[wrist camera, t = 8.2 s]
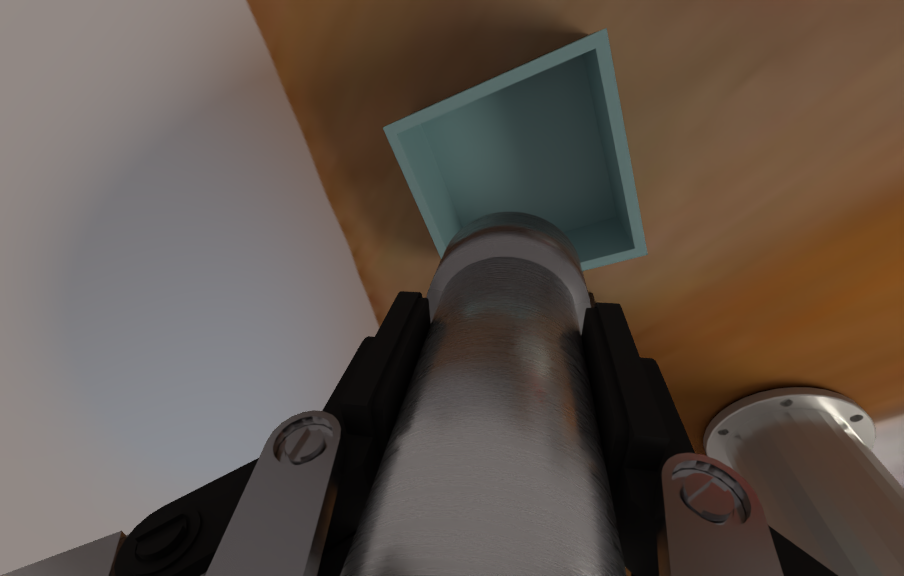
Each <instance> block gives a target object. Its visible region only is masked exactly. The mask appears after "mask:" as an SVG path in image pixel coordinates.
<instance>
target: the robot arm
mask: <svg viewBox="0 0 904 576" xmlns="http://www.w3.org/2000/svg"><path fill="white" fill-rule="evenodd" d="M430 325H431V321H430V309H429V300H428V298H422V294H421V293H420V292H403V291H401V292H399V293H398V295H397V297H396V299H395V301H394V302H393V304H392V306H391V308H390V310H389V312H388V314H387V315H386V317H385V319H384V321H383V323H382V325H381V326H380V328H379V330H378V332H377V334H376V336H375V337H369V336H368V337H366V338H365V339H364V340H363V342H362V343H361V345H360V347H359V348H358V350H357V352H356V354H355V355H354V357H353V359H352V360H351V362H350V364H349V366H348V368H347V369H346V371H345V373H344V374H343V376H342V378H341V380H340V381H339V383H338V385H337V386H336V388H335V390H334V392H333V393H332V395H331V397H330V399H329V400H328V402H327V404H326V406H325V407H324V409H323V411H308V412H302V413H300V414H297V415H295V416H292V417H290V418H289V419H287V420H286V421H284V422H282V423H281V424H280V425H279V426H278V427H277V428H276V429H275V430H274V431H273V432H272V434H271V435H270V437H269V438H268V440H267V442H266V444H265V446H264V448H263V451H262V453H261V455H260V457H259V458H258V459H256V460H254V461H252V462H250V463H248V464H246V465H244V466H242V467H240V468H238V469H236V470H234V471H232V472H230V473H228V474H226V475H224V476H222V477H220V478H218V479H216V480H214V481H212V482H210V483H208V484H206V485H204V486H203V487H201V488H199V489H197V490H195V491H193V492H191V493H189V494H187V495H185V496H183V497H181V498H179V499H177V500H175V501H173V502H171V503H169V504H167V505H165V506H163V507H161V508H160V509H158V510H157V511H155V512H153V513H152V514H150V515H149V516H148V517H146V518H145V519H144V520H143V521H142V522H141V523H140V524H138V525H137V526H136V527H135V528H134V530H133V531H132V532H131V533H130V534H129V535H125V534H124V533H123V532H122V531H120V532H117V533H115V534H112V535H109V536H106V537H104V538H101V539H98V540H95V541H93V542H90V543H87V544H84V545H82V546H79V547H76V548H74V549H71V550H68V551H66V552H63V553H60V554H57V555H55V556H52V557H49V558H47V559H44V560H41V561H39V562H36V563H34V564H31V565H28V566H25V567H22V568H20V569H17V570H14V571H12V572H9V573H6V574H3V575H1V576H340V574H341V571H342V569H343V566H344V563H345V560H346V558H347V555H348V552H349V549H350V546H351V544H352V541H353V538H354V535H355V533H356V530H357V527H358V524H359V522H360V519H361V516H362V513H363V510H364V508H365V505H366V502H367V499H368V497H369V494H370V491H371V488H372V486H373V483H374V480H375V477H376V474H377V472H378V469H379V466H380V463H381V461H382V458H383V455H384V452H385V449H386V447H387V444H388V441H389V438H390V436H391V433H392V430H393V427H394V425H395V422H396V419H397V416H398V413H399V411H400V408H401V405H402V402H403V400H404V397H405V394H406V391H407V389H408V386H409V383H410V380H411V377H412V375H413V372H414V369H415V366H416V364H417V361H418V358H419V355H420V353H421V350H422V347H423V344H424V341H425V339H426V336H427V333H428V330H429V328H430ZM581 338H582V343H583V349H584V354H585V359H586V365H587V370H588V375H589V380H590V386H591V391H592V396H593V401H594V407H595V412H596V417H597V423H598V428H599V433H600V438H601V444H602V449H603V454H604V459H605V465H606V470H607V475H608V480H609V486H610V491H611V496H612V501H613V507H614V512H615V517H616V523H617V528H618V533H619V538H620V544H621V549H622V554H623V559H624V565H625V567H626V568H625V570H626V575H627V576H904V488H903V487H902V486H901V485H900V484H899V482H898V481H897V480H896V479H895V478H894V477H893V475H892V474H891V473H890V472H889V471H888V470H887V469H886V467H885V466H884V465H883V464H882V463H881V462H880V461H879V459H878V458H877V457H876V456H875V455H874V454H873V452H872V451H871V449H872V448H873V446H874V442H875V439H876V428H875V425H874V423H873V421H872V419H871V418H870V416H869V415H868V414H867V413H866V412H865V411H864V410H863V409H862V408H861V407H860V406H859V405H858V404H857V403H856V402H854V401H853V400H852V399H850V398H848V397H846V396H844V395H842V394H839V393H836V392H832V391H829V390H825V389H818V388H811V387H789V388H780V389H773V390H768V391H764V392H759V393H756V394H753V395H751V396H748V397H745V398H743V399H741V400H739V401H737V402H735V403H733V404H731V405H729V406H728V407H726V408H725V409H724V410H722V411H721V412H720V413H719V414H718V415H717V416H716V417H714V418H713V419H712V421H711V422H710V424H709V425H708V427H707V428H706V431H705V434H704V437H703V446H704V449H705V453H706V455H707V456H705V455H703V454H695V452H694V450H693V448H692V445H691V443H690V440H689V438H688V436H687V433H686V431H685V429H684V426H683V424H682V421H681V419H680V417H679V414H678V412H677V409H676V407H675V405H674V402H673V400H672V398H671V395H670V393H669V390H668V388H667V386H666V383H665V381H664V378H663V376H662V374H661V371H660V369H659V367H658V364H657V363H656V361H655V360H654V359H652V358H640V357H639V354H638V351H637V348H636V346H635V343H634V340H633V338H632V335H631V332H630V330H629V327H628V324H627V321H626V319H625V316H624V313H623V311H622V308H621V306H620V304H614V303H597V302H596V303H595V305H594V308H586V311H585V316H584V322H583V328H582V334H581Z"/></svg>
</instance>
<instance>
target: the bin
mask: <svg viewBox="0 0 904 576" xmlns="http://www.w3.org/2000/svg"><path fill="white" fill-rule="evenodd" d="M383 129H384V132H385V134H386V136H387V138H388V141H389V143H390V145H391V147H392V150H393V152H394V154H395V156H396V159H397V161H398V163H399V165H400V168H401V170H402V172H403V174H404V177H405V179H406V181H407V183H408V185H409V188H410V190H411V192H412V194H413V197H414V199H415V201H416V203H417V206H418V208H419V210H420V212H421V215H422V217H423V219H424V221H425V224H426V226H427V228H428V230H429V233H430V235H431V237H432V239H433V242H434V244H435V246H436V248H437V251H438V253H439V255H440V257H441V259H442V257H443V254H444V252H445V250H446V248H447V246H448V244H449V242H450V241H451V239H452V238H453V237H454V235H455V234H456V233H457V232H458V231H459V230H460V229H461V228H463V227H464V226H466V225H467V224H468V223H470V222H472V221H473V220H475V219H477V218H480V217H482V216H485V215H488V214H492V213H497V212H522V213H528V214H532V215H535V216H538V217H540V218H543V219H545V220H547V221H549V222H550V223H552V224H554V225H555V226H556V227H558V228H559V229H560V230H561V231H562V232H563V233H564V234H565V235H566V236H567V237H568V238H569V240H570V241H571V242H572V244H573V246H574V247H575V249H576V251H577V254H578V257H579V260H580V263H581V267H582V271H584V270H588V269H592V268H596V267H600V266H604V265H608V264H612V263H616V262H620V261H624V260H628V259H632V258H636V257H640V256H644V255H648V254H647V248H646V243H645V237H644V232H643V226H642V221H641V215H640V210H639V204H638V199H637V193H636V188H635V182H634V177H633V171H632V166H631V160H630V155H629V149H628V144H627V138H626V133H625V127H624V122H623V116H622V111H621V105H620V100H619V94H618V89H617V83H616V78H615V72H614V67H613V61H612V56H611V50H610V45H609V39H608V34H607V28H605V29H603V30H600V31H598V32H595V33H592V34H590V35H588V36H585V37H583V38H581V39H579V40H576V41H574V42H572V43H570V44H567V45H565V46H563V47H561V48H558V49H556V50H554V51H552V52H549V53H547V54H545V55H543V56H540V57H538V58H536V59H534V60H531V61H529V62H527V63H525V64H522V65H520V66H518V67H516V68H513V69H511V70H509V71H507V72H504V73H502V74H500V75H498V76H495V77H493V78H491V79H489V80H486V81H484V82H482V83H480V84H477V85H475V86H473V87H471V88H468V89H466V90H464V91H462V92H459V93H457V94H455V95H453V96H451V97H448V98H446V99H444V100H442V101H439V102H437V103H435V104H433V105H430V106H428V107H426V108H424V109H421V110H419V111H417V112H415V113H412V114H410V115H408V116H406V117H404V118H402V119H400V120H398V121H395V122H393V123H391V124H389V125H387V126H385V127H383Z"/></svg>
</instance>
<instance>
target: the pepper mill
mask: <svg viewBox="0 0 904 576" xmlns="http://www.w3.org/2000/svg"><path fill="white" fill-rule="evenodd" d="M427 298H428V300H429V309H430V321H431V325H430V328H429V330H428V333H427V336H426V339H425V341H424V344H423V347H422V350H421V353H420V355H419V358H418V361H417V364H416V366H415V369H414V372H413V375H412V377H411V380H410V383H409V386H408V389H407V391H406V394H405V397H404V400H403V402H402V405H401V408H400V411H399V413H398V416H397V419H396V422H395V425H394V427H393V430H392V433H391V436H390V438H389V441H388V444H387V447H386V449H385V452H384V455H383V458H382V461H381V463H380V466H379V469H378V472H377V474H376V477H375V480H374V483H373V486H372V488H371V491H370V494H369V497H368V499H367V502H366V505H365V508H364V510H363V513H362V516H361V519H360V522H359V524H358V527H357V530H356V533H355V535H354V538H353V541H352V544H351V546H350V549H349V552H348V555H347V558H346V560H345V563H344V566H343V569H342V571H341V574H340V576H627V575H626V570H625V565H624V559H623V554H622V549H621V544H620V538H619V533H618V528H617V523H616V517H615V512H614V507H613V501H612V496H611V491H610V486H609V480H608V475H607V470H606V465H605V459H604V454H603V449H602V444H601V438H600V433H599V428H598V423H597V417H596V412H595V407H594V401H593V396H592V391H591V386H590V380H589V375H588V370H587V365H586V359H585V354H584V349H583V343H582V338H581V334H582V328H583V322H584V316H585V311H586V308H591V305H590V299H589V295H588V291H587V287H586V283H585V279H584V275H583V271H582V267H581V263H580V260H579V257H578V254H577V251H576V249H575V247H574V246H573V244H572V242H571V241H570V240H569V238H568V237H567V236H566V235H565V234H564V233H563V232H562V231H561V230H560V229H559V228H558V227H556V226H555V225H554V224H552V223H550V222H549V221H547V220H545V219H543V218H540V217H538V216H535V215H532V214H528V213H522V212H497V213H492V214H488V215H485V216H482V217H480V218H477V219H475V220H473V221H472V222H470V223H468V224H467V225H466V226H464V227H463V228H461V229H460V230H459V231H458V232H457V233H456V234H455V235H454V237H453V238H452V239H451V241H450V242H449V244H448V246H447V248H446V250H445V252H444V254H443V257H442V259H441V261H440V264H439V266H438V268H437V271H436V273H435V275H434V278H433V280H432V283H431V285H430V288H429V290H428V294H427Z"/></svg>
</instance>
